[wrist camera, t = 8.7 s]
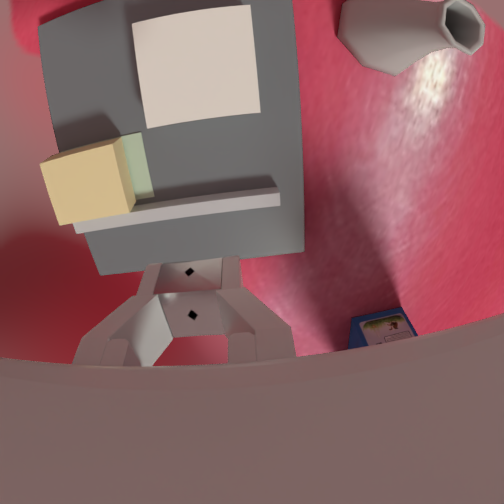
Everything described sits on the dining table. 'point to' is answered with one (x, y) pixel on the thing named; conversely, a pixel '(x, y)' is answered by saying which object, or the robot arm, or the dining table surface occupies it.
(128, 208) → the stub
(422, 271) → the dining table surface
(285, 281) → the dining table surface
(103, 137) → the ticket board
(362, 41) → the flask
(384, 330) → the milk carton
